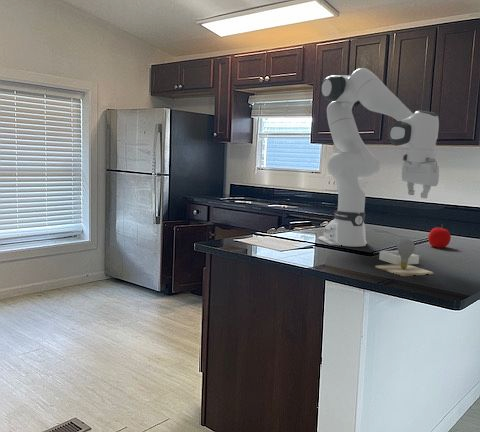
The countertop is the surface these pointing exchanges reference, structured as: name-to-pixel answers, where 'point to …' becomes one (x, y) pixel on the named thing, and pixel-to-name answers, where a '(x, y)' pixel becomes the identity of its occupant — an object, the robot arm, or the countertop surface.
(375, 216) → the countertop surface
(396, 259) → the socket
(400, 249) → the light bulb
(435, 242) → the fruit
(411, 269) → the board
